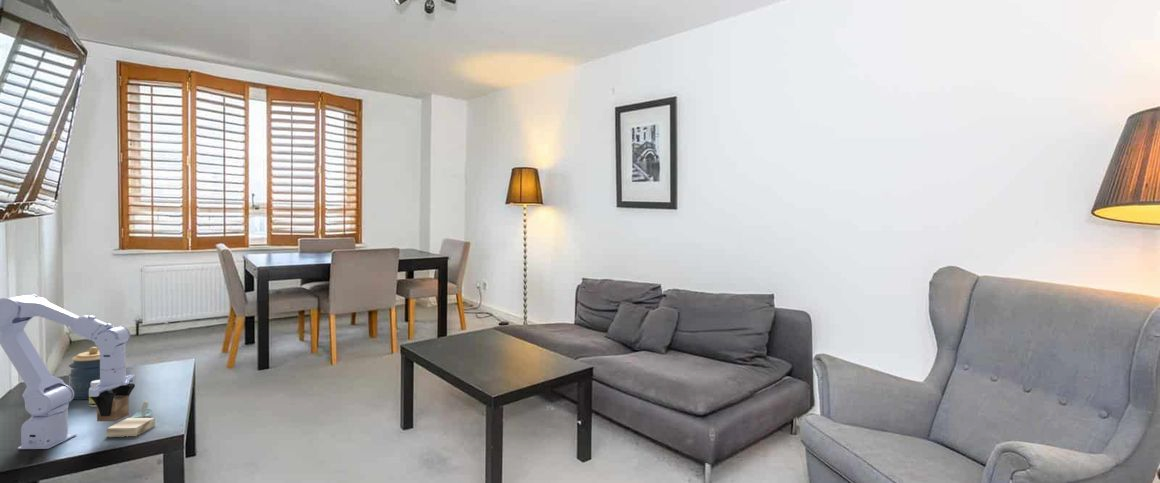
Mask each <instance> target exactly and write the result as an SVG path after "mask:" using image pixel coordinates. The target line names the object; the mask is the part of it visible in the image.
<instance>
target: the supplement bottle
mask: <svg viewBox="0 0 1160 483" xmlns="http://www.w3.org/2000/svg"><path fill="white" fill-rule="evenodd" d="M98 384H100V380H95V381H92V382H91V387H90V388H89V390H90V389H93V388H94V387H95V386H97V385H98ZM88 406H89V407H91V408H97V405H96V403H95V402H94V401H93V400H92V399H91V398H90V397H89V399H88Z"/></svg>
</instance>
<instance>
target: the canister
mask: <svg viewBox="0 0 1160 483" xmlns="http://www.w3.org/2000/svg"><path fill="white" fill-rule="evenodd" d="M71 360H72V361H73V362H71V363H69V364H68V367H69V368H70V373H69V374H68V378H69V382H68V383H69V384H68V386H70V387H71V388H72V389H73V391H74V397H73V399H72V400H89V388H90V387H91V382H92V381H95V380H100V353H99V348H98V347H97V346H91V347H89V349H88V351H84V352H79V353H78V354H76V355H75V356H73V357H72V358H71ZM108 392H110V393H113V391H112V389H111V390H109V391H108Z"/></svg>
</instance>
